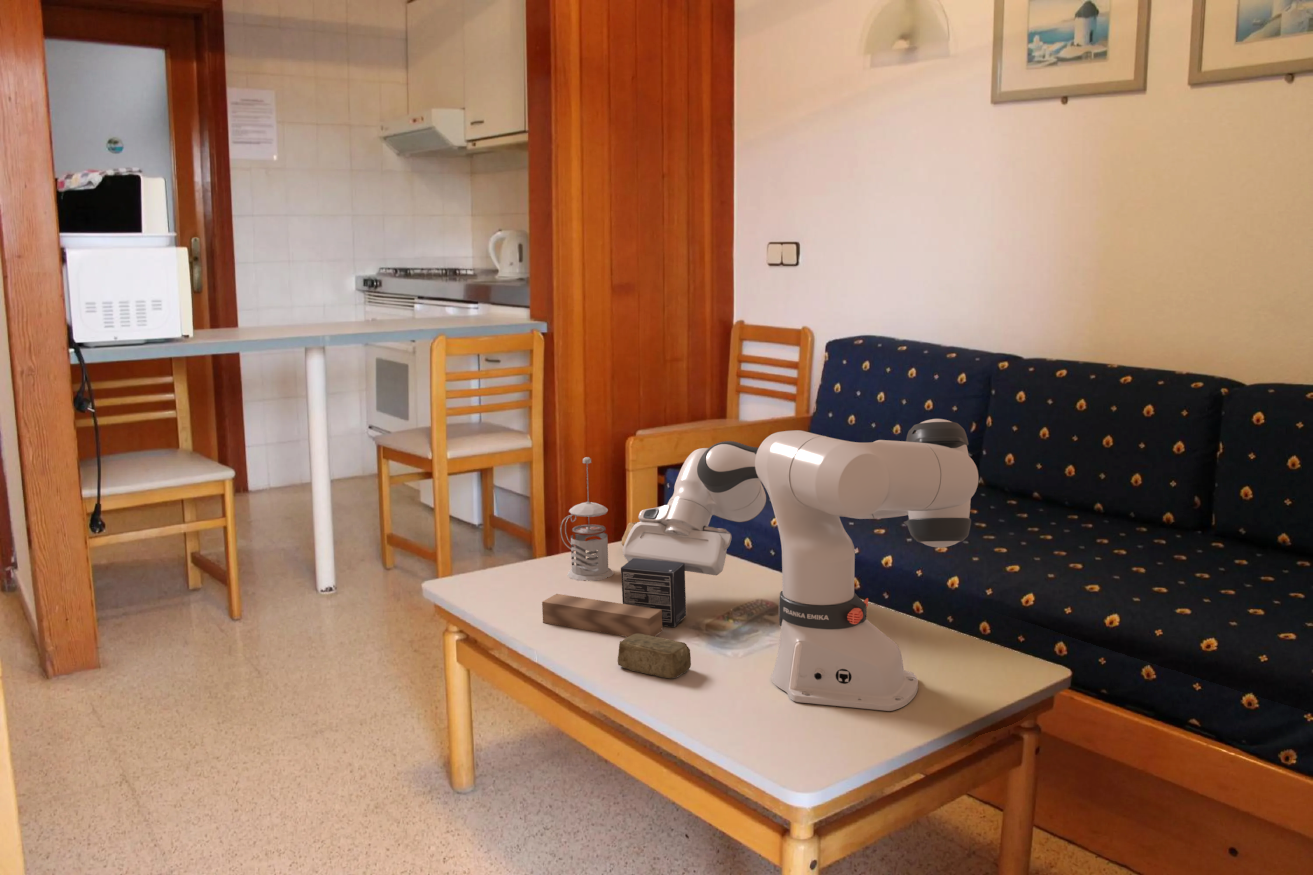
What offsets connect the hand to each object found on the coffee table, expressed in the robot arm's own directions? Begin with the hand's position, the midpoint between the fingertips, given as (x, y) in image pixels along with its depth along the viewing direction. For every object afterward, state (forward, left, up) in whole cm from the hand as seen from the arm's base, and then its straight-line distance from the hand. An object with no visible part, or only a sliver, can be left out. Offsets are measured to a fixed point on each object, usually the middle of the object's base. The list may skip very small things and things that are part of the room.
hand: (662, 587), depth 201 cm
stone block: (-11, +25, -5) cm, 27 cm away
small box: (0, +3, -5) cm, 6 cm away
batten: (+7, +11, -5) cm, 14 cm away
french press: (+26, -16, -5) cm, 31 cm away
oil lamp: (+22, -34, -5) cm, 41 cm away
